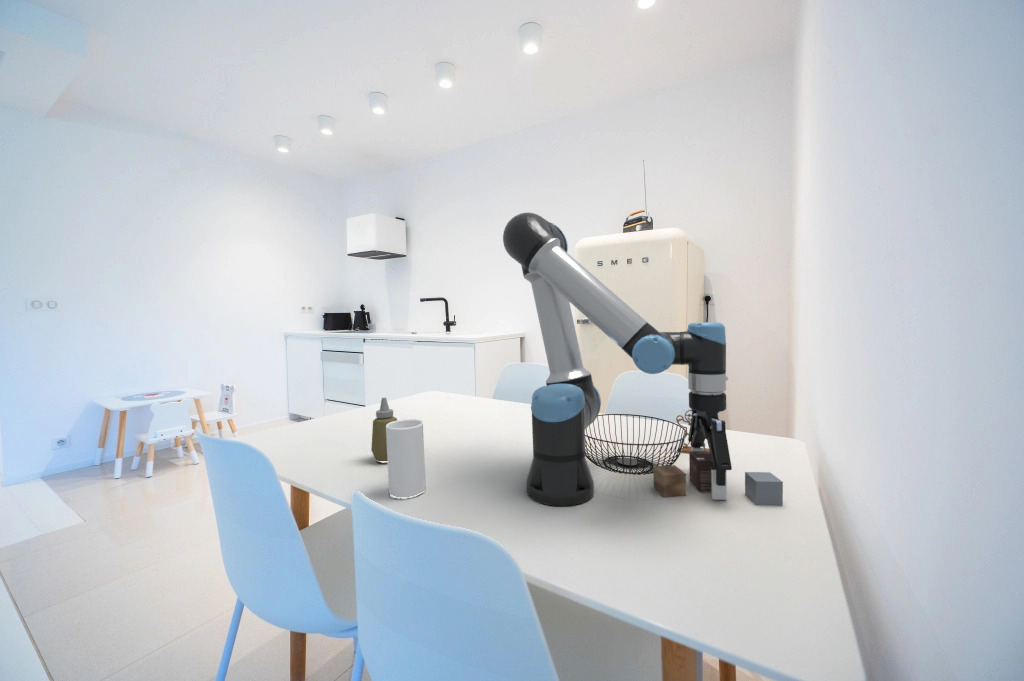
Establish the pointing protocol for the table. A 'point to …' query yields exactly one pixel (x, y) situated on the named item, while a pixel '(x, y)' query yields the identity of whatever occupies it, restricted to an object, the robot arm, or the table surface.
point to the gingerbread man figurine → (687, 448)
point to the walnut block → (669, 481)
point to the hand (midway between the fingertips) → (707, 486)
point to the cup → (405, 457)
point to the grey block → (764, 488)
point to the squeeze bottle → (381, 431)
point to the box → (700, 470)
